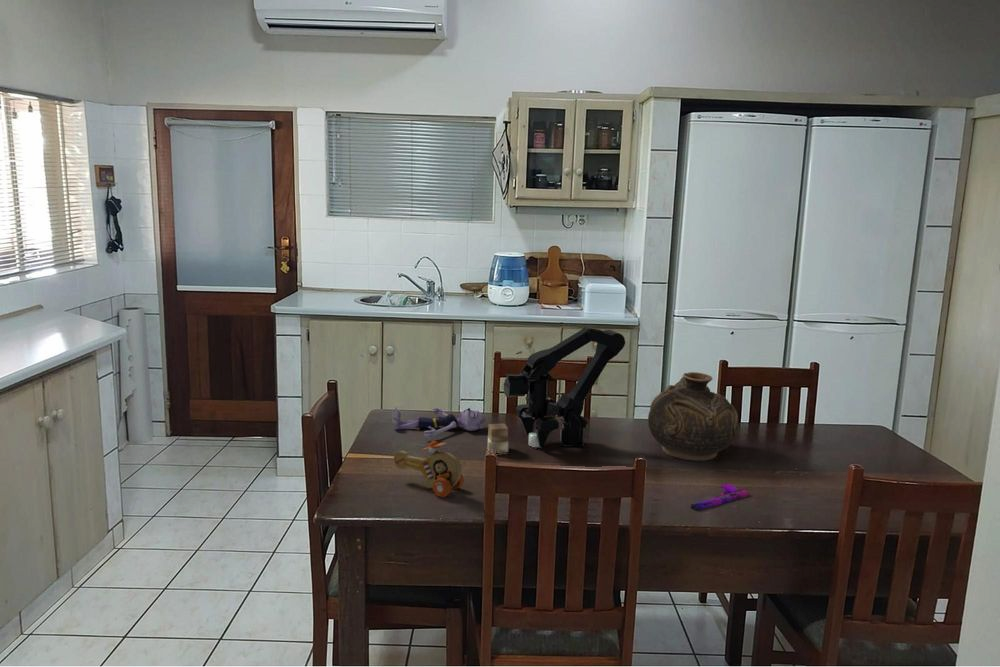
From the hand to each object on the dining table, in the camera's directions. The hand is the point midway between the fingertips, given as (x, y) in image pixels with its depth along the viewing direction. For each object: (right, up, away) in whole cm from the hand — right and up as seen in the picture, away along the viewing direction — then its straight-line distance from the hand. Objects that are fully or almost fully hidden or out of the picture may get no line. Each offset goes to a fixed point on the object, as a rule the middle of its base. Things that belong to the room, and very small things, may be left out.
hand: (535, 443), depth 234 cm
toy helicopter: (-30, -7, -33) cm, 45 cm away
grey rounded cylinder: (0, -1, 0) cm, 1 cm away
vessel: (+48, -3, 0) cm, 48 cm away
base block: (-12, -2, -4) cm, 13 cm away
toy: (-31, +2, +15) cm, 35 cm away
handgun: (+46, -10, -35) cm, 59 cm away
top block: (-12, +2, -5) cm, 13 cm away
